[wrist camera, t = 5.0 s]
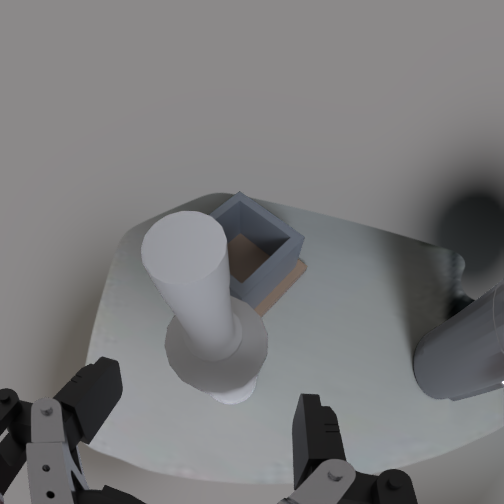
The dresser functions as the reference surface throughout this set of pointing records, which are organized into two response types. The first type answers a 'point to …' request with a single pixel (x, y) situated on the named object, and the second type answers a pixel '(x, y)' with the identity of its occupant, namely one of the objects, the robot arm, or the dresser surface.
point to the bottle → (204, 307)
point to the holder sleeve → (259, 252)
